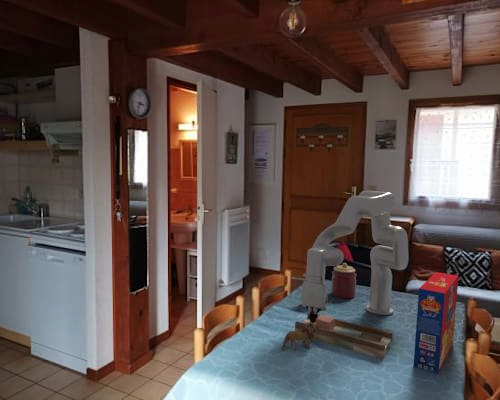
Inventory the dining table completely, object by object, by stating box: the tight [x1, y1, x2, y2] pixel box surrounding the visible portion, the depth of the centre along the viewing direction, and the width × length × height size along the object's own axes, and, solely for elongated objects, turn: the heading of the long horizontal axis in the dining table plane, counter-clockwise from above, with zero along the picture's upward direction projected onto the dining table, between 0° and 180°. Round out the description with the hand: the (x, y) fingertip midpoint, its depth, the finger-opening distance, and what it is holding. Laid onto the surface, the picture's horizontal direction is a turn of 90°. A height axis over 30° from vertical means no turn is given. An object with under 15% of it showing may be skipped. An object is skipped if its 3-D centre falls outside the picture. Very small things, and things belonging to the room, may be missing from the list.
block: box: [315, 313, 336, 330], centre depth 158 cm, size 6×6×4 cm
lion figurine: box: [281, 322, 316, 352], centre depth 147 cm, size 15×5×9 cm, turn 117°
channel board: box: [294, 312, 393, 360], centre depth 155 cm, size 14×35×5 cm, turn 58°
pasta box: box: [413, 271, 459, 375], centre depth 143 cm, size 28×8×28 cm, turn 144°
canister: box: [330, 262, 358, 300], centre depth 210 cm, size 13×13×18 cm
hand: (313, 321), depth 161 cm, fingers closed
